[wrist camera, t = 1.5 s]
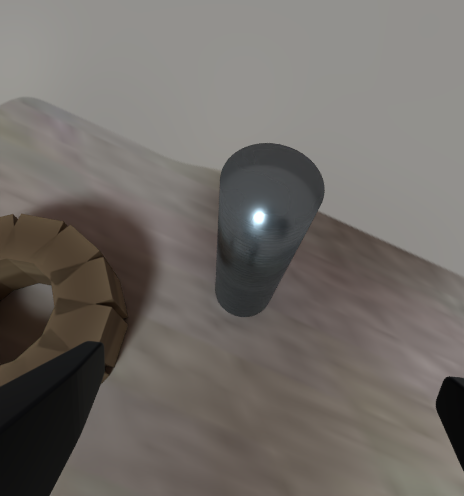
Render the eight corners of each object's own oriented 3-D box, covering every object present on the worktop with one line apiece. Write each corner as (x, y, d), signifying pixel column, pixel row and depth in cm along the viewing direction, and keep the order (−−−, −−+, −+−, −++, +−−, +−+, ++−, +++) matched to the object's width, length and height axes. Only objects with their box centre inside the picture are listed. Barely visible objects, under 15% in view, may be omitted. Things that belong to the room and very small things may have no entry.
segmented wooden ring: (144, 388, 20) (130, 383, 16) (-80, 472, 17) (-155, 488, 14) (107, 226, 25) (89, 195, 21) (-72, 274, 22) (-126, 247, 19)
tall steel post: (280, 305, 23) (343, 210, 12) (226, 325, 22) (242, 240, 11) (258, 256, 24) (297, 134, 14) (207, 272, 24) (206, 155, 13)
